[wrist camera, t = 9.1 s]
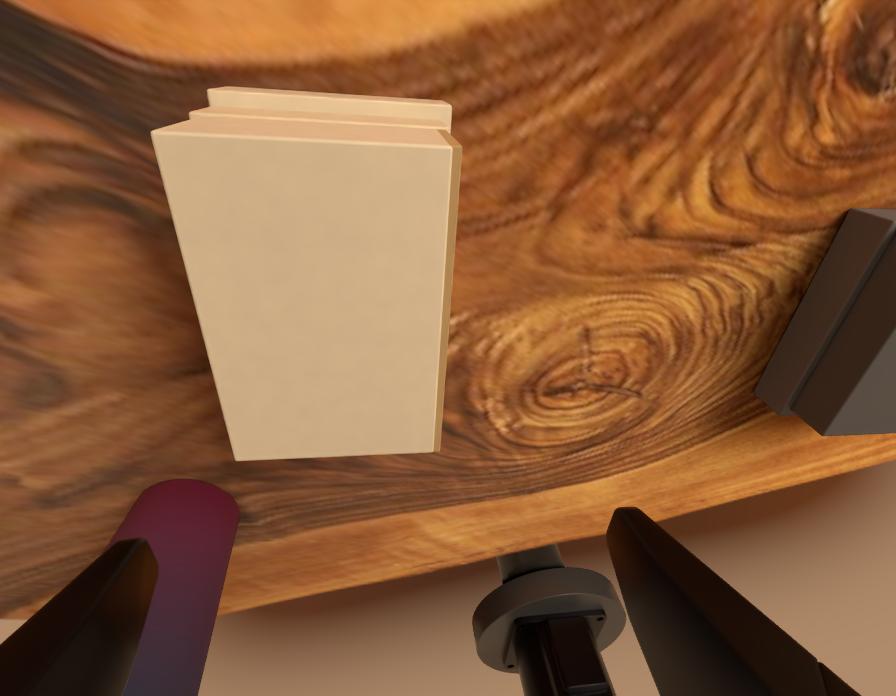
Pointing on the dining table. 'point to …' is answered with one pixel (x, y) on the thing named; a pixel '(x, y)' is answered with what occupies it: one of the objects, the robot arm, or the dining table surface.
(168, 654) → the cup
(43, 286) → the dining table surface
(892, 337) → the grey book stack
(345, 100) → the cream book stack
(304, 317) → the beige rectangular block
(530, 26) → the dining table surface
